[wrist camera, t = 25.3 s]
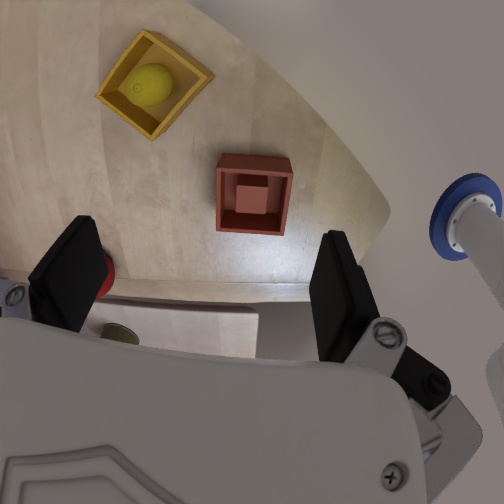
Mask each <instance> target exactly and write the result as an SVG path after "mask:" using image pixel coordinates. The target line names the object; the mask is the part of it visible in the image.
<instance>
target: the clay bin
mask: <svg viewBox="0 0 504 504" xmlns="http://www.w3.org/2000/svg"><path fill="white" fill-rule="evenodd" d="M239 174H252V175H265V176H268V195H267V205H266V214H253V213H239V212H235V210H236V187H237V180H238V175H239ZM292 179H293V171H292V167H291V164H290V160H289V158H279V157H268V156H256V155H241V154H222V155H221V157H220V160H219V162H218V165H217V167H216V231H222V232H236V233H251V234H264V235H278V236H284V231H285V225H286V218H287V212H288V206H289V199H290V192H291V186H292Z"/></svg>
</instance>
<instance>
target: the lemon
mask: <svg viewBox="0 0 504 504" xmlns="http://www.w3.org/2000/svg"><path fill="white" fill-rule="evenodd" d="M173 87H174V77H173V75H172V73H171V71H170V70H169V69H168V68H167V67H165V66H163V65H161V64H157V63H149V64H145V65H142V66H140V67H138V68H136V69H135V70H134V71H133V72H132V73H131V74H130V75H129V76H128V78H127V80H126V83H125V94H126V97H127V98H128V100H129V101H130V102H131V103H133V104H134V105H136V106H140V107H153V106H156V105H159V104H160V103H162V102H164V101H165V100H166V99H167V98H168V97H169V96H170V94H171V93H172V90H173Z"/></svg>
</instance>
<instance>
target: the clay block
mask: <svg viewBox="0 0 504 504" xmlns="http://www.w3.org/2000/svg"><path fill="white" fill-rule="evenodd" d="M267 195H268V176H265V175H252V174H239V175H238V180H237V187H236V210H235V212H239V213H253V214H266V205H267Z"/></svg>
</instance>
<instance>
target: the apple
mask: <svg viewBox="0 0 504 504" xmlns="http://www.w3.org/2000/svg"><path fill="white" fill-rule="evenodd" d="M104 255H105V254H104ZM105 258H106V261H107V264H108V268H109V273H108V276H107V278H106V280H105V282H104V283H103V285H102V287H101V289H100V291H99V293H98V295H97V297H96V299H98V298H100V297H102V296H103V295H105V294H106V293H107V292H108V291H109V290H110V289H111V287H112V285H113V283H114V278H115V270H114V266H113V263H112V262H111V260H110V259H109V257H108V256H107V255H105Z"/></svg>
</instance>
